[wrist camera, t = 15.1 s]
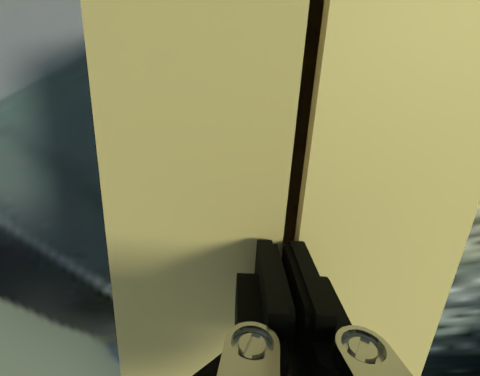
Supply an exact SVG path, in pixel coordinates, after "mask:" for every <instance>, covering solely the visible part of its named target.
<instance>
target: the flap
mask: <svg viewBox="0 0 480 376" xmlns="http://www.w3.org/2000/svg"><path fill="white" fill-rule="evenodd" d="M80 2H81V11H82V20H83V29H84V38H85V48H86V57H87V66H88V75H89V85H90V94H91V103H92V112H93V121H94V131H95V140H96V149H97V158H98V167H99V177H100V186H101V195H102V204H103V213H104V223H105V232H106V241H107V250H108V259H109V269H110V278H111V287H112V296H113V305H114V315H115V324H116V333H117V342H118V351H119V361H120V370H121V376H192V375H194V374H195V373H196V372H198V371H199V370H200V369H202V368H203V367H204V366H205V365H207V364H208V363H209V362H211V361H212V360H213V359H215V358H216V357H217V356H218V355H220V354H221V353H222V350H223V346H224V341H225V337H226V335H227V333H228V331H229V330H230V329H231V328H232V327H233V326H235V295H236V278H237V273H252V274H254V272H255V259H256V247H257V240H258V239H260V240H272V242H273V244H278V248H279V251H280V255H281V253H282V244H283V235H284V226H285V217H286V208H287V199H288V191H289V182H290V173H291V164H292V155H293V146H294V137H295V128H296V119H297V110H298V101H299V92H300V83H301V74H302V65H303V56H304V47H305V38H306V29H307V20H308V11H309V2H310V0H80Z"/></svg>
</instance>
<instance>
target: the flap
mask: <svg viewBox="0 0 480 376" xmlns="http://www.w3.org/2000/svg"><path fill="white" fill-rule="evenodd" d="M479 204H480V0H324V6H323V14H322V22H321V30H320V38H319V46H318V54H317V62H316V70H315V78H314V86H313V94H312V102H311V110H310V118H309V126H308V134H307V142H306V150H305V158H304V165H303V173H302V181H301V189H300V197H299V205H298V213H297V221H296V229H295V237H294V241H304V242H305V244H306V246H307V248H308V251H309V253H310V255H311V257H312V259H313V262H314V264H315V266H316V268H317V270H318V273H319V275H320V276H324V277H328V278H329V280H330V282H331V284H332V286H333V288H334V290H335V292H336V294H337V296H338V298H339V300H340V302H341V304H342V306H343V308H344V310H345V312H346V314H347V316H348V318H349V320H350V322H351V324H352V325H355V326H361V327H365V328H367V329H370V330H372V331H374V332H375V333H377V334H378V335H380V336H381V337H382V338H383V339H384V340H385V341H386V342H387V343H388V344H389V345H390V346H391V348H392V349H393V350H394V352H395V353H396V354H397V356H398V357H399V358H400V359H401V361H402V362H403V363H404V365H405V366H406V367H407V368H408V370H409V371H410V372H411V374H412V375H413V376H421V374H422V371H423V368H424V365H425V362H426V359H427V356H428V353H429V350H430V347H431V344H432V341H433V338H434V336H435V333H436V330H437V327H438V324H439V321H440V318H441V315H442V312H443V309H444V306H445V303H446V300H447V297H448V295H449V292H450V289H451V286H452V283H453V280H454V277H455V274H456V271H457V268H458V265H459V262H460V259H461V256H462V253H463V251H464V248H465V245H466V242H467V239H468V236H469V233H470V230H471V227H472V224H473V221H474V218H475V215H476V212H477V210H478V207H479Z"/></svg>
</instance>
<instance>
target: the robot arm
mask: <svg viewBox="0 0 480 376" xmlns="http://www.w3.org/2000/svg"><path fill="white" fill-rule="evenodd" d="M192 376H413V375H412V374H411V372H410V371H409V370H408V368H407V367H406V366H405V365H404V363H403V362H402V361H401V359H400V358H399V357H398V356H397V354H396V353H395V352H394V350H393V349H392V348H391V346H390V345H389V344H388V343H387V342H386V341H385V340H384V339H383V338H382V337H381V336H380V335H378V334H377V333H375V332H374V331H372V330H370V329H367V328H365V327H361V326H355V325H352V324H351V322H350V320H349V318H348V316H347V314H346V312H345V310H344V308H343V306H342V304H341V302H340V300H339V298H338V296H337V294H336V292H335V290H334V288H333V286H332V284H331V282H330V280H329V278H328V277H324V276H320V275H319V273H318V270H317V268H316V266H315V264H314V262H313V259H312V257H311V255H310V253H309V251H308V248H307V246H306V244H305V242H304V241H289V243H288V244H284V245H283V251H282V259H281V255H280V251H279V248H278V244H273V242H272V240H260V239H258V240H257V247H256V259H255V272H254V274H252V273H237V278H236V295H235V326H233V327H232V328H231V329H230V330H229V331H228V333H227V335H226V337H225V341H224V346H223V350H222V353H221V354H220V355H218V356H217V357H216V358H215V359H213V360H212V361H211V362H209V363H208V364H207V365H205V366H204V367H203V368H202V369H200V370H199V371H198V372H196V373H195V374H194V375H192Z"/></svg>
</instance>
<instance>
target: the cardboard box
mask: <svg viewBox="0 0 480 376" xmlns="http://www.w3.org/2000/svg"><path fill="white" fill-rule="evenodd" d="M323 6H324V0H310V2H309V11H308V20H307V29H306V38H305V47H304V56H303V65H302V74H301V83H300V92H299V101H298V110H297V119H296V128H295V137H294V146H293V155H292V164H291V173H290V182H289V191H288V199H287V208H286V217H285V226H284V235H283V244H282V251H283V245H284V244H288V243H289V241H294V237H295V229H296V221H297V213H298V205H299V197H300V189H301V181H302V173H303V165H304V158H305V150H306V142H307V134H308V126H309V118H310V110H311V102H312V94H313V86H314V78H315V70H316V62H317V54H318V46H319V38H320V30H321V22H322V14H323ZM281 259H282V253H281Z"/></svg>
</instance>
